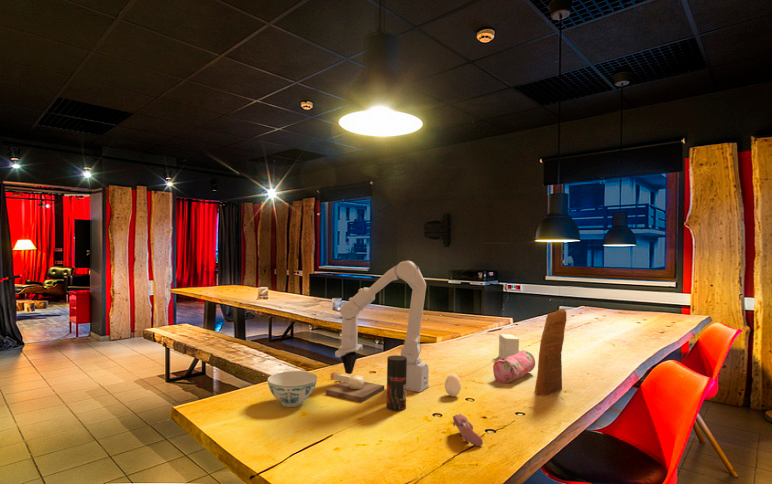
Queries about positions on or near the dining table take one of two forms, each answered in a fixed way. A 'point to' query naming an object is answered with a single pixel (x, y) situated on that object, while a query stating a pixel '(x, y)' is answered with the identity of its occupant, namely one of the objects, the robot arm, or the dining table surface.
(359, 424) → the dining table surface
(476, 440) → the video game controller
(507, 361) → the pencil case
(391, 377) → the deodorant
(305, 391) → the chinaware
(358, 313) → the robot arm
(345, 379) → the white joystick lever
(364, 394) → the flat rectangular base
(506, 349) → the skincare box
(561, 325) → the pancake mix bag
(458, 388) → the egg
